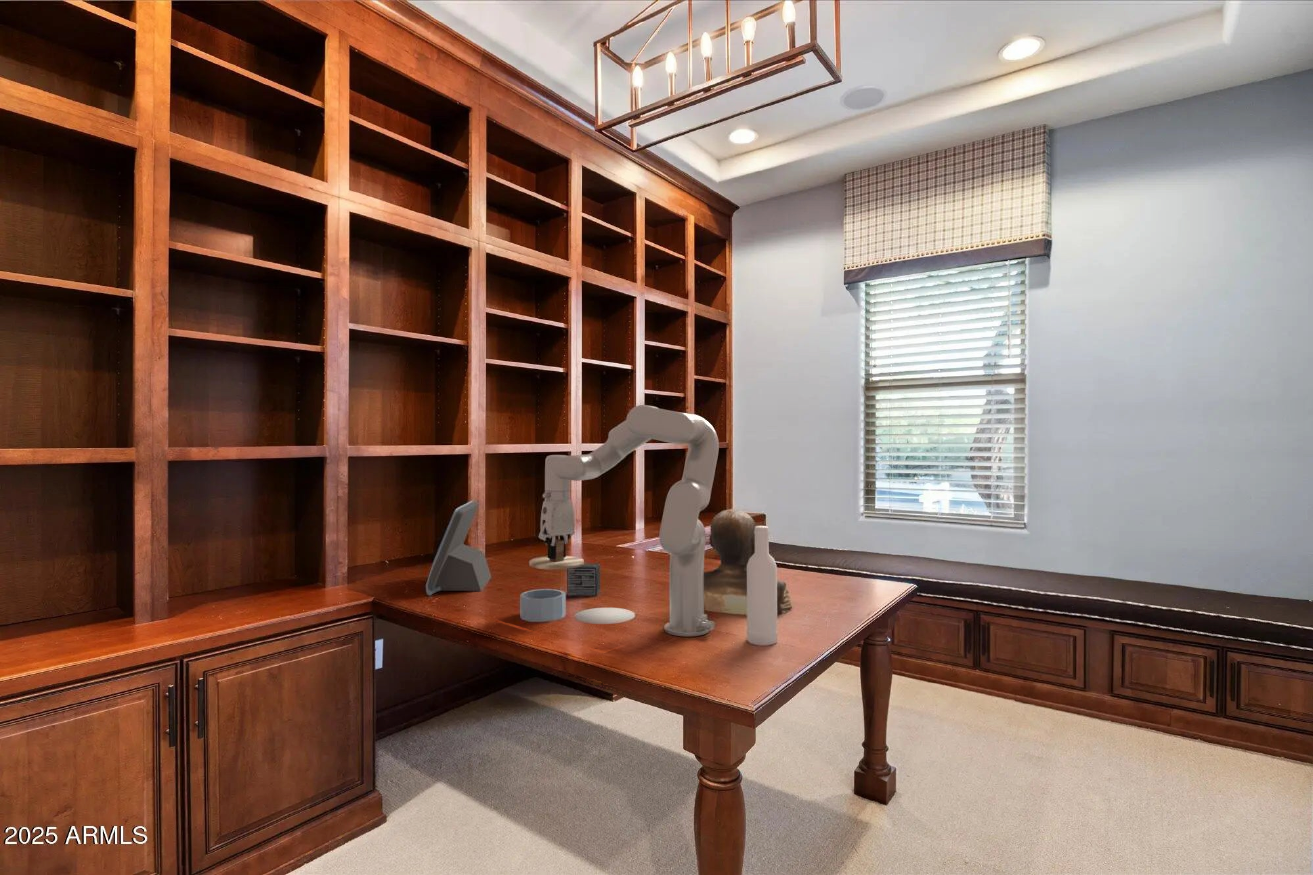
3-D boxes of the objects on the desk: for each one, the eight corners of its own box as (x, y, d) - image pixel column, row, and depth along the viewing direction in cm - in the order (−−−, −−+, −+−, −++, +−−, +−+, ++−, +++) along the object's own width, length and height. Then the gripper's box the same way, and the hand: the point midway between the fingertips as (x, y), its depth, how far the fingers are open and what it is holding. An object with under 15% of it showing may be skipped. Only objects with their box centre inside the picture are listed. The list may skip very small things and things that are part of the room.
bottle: (756, 634, 174) (756, 523, 175) (782, 640, 169) (782, 526, 170) (741, 641, 168) (740, 526, 168) (767, 647, 163) (767, 529, 163)
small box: (600, 593, 222) (600, 563, 223) (597, 598, 216) (597, 566, 216) (570, 593, 223) (570, 562, 224) (566, 597, 217) (566, 566, 217)
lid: (594, 564, 193) (594, 540, 193) (553, 571, 181) (553, 547, 181) (559, 557, 204) (559, 534, 204) (518, 564, 192) (518, 540, 192)
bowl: (574, 616, 193) (574, 593, 193) (540, 626, 183) (539, 601, 183) (545, 609, 201) (545, 587, 201) (511, 618, 191) (511, 594, 191)
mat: (647, 616, 193) (647, 614, 193) (605, 629, 179) (605, 627, 179) (604, 606, 205) (604, 604, 205) (561, 618, 191) (561, 616, 191)
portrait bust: (780, 619, 189) (779, 514, 189) (672, 606, 205) (672, 509, 205) (798, 603, 208) (797, 508, 208) (698, 592, 224) (697, 503, 224)
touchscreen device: (442, 575, 254) (445, 499, 254) (493, 575, 256) (496, 500, 257) (420, 596, 219) (423, 508, 220) (479, 596, 221) (482, 509, 222)
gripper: (544, 498, 184) (543, 563, 184) (586, 495, 196) (585, 556, 196) (527, 497, 189) (526, 559, 189) (569, 494, 201) (569, 552, 201)
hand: (556, 557), depth 192 cm, fingers closed on lid, 3 cm apart
